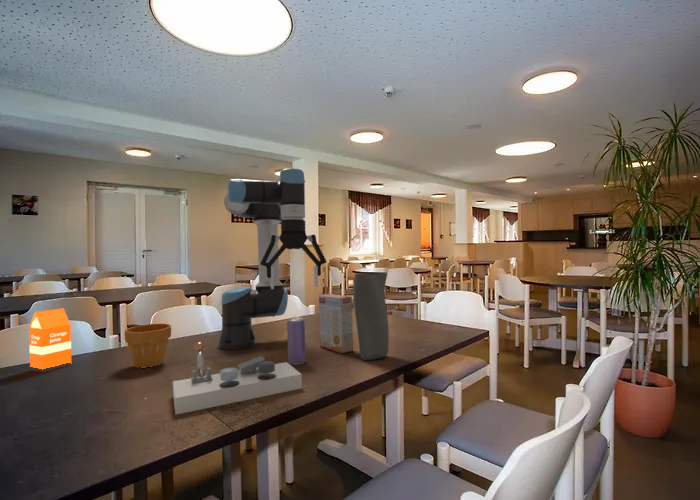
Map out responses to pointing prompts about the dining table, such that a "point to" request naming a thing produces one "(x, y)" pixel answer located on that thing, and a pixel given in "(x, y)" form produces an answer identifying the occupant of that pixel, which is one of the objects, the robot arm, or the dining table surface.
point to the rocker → (250, 364)
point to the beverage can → (296, 341)
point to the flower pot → (148, 343)
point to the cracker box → (336, 322)
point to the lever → (200, 358)
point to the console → (232, 387)
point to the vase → (371, 314)
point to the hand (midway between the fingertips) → (294, 287)
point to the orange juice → (50, 339)
